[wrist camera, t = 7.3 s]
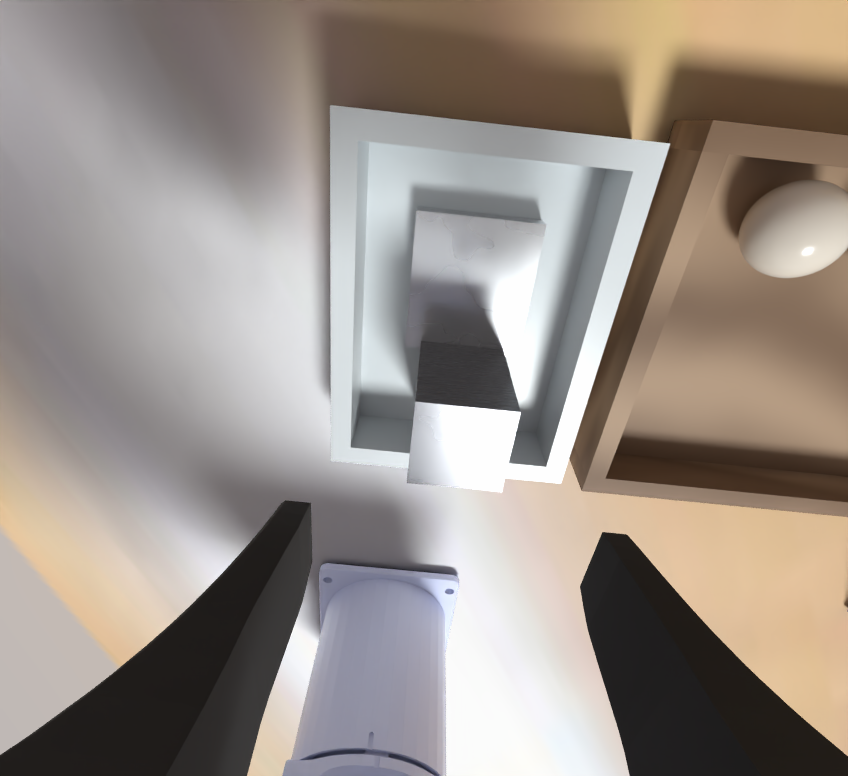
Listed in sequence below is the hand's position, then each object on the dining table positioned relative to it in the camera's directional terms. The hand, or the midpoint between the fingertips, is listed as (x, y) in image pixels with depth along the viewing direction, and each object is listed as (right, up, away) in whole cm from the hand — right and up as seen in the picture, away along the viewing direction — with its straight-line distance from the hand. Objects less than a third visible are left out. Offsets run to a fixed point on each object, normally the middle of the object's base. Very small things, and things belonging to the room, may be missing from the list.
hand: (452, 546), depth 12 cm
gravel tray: (+14, +6, +7) cm, 17 cm away
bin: (+1, +7, +7) cm, 10 cm away
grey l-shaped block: (+1, +7, +7) cm, 10 cm away
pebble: (+11, +10, +5) cm, 16 cm away
